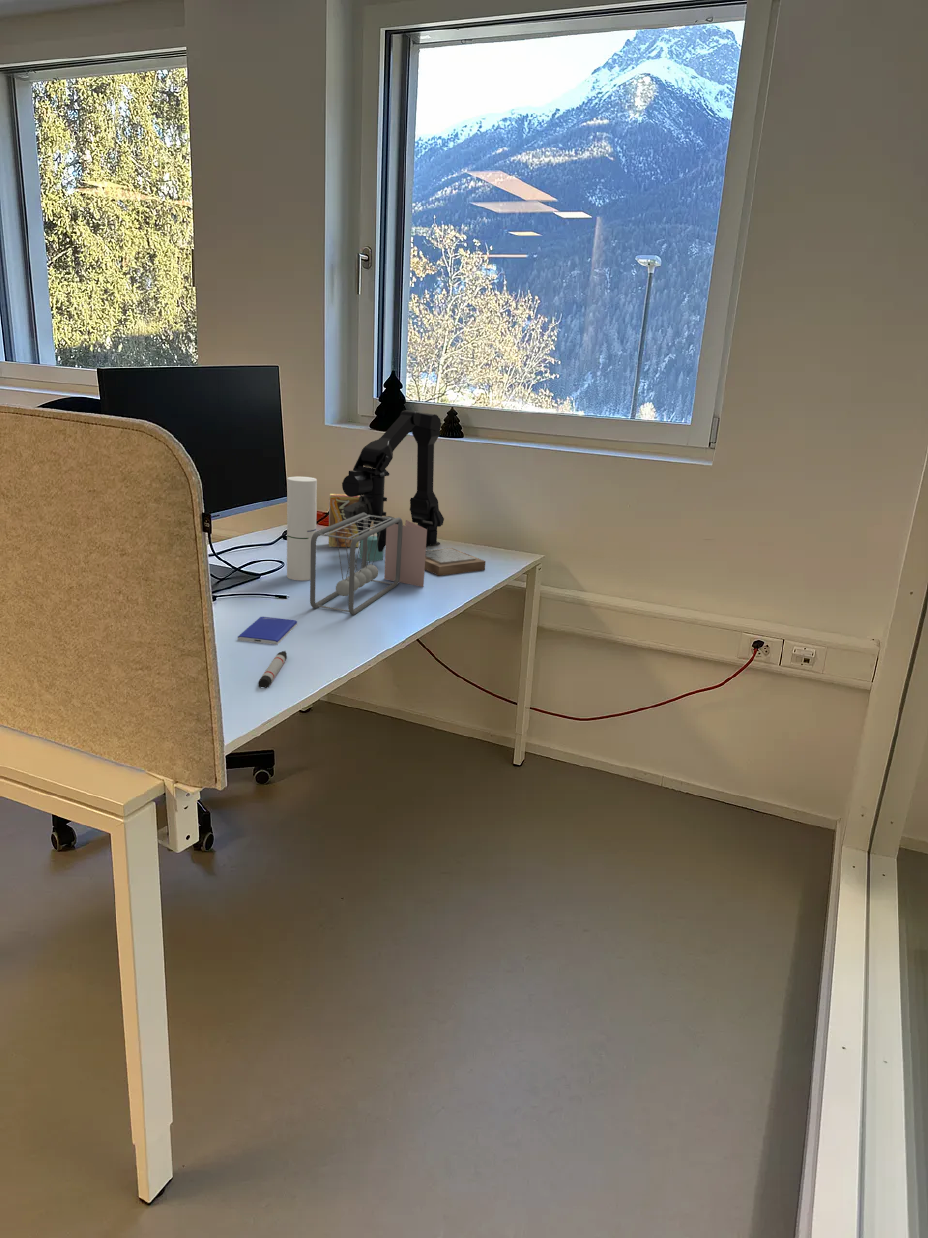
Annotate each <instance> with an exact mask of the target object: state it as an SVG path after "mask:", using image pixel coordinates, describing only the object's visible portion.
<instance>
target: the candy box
mask: <svg viewBox="0 0 928 1238" xmlns="http://www.w3.org/2000/svg"><path fill="white" fill-rule="evenodd" d="M359 497H360V496H354V497H349V496H347V495H346V494H345V493H329V499H328V500H329V503H328V504H329V505H328V506H329V509H328V527H329V526H331V525H334V524H336V523H339V522H341V521H343V520H346V517H345V514H344V510H343V508H345V507H347V506H349V505H351V504H353V503H357V502H359ZM351 523H352V522H351ZM349 524H350V523H349ZM346 525H348V524H346ZM352 525H354V526H351V528H350V526H347V527H345V528H347V529H344V531H343V529H340V530H338V531H339V532H337V536H341V537H344V533H343V532H346V533H345V537H347V538H348V537H351V536H353V535H355V534H357V533H358V529H357V526H356V524H355V523H354V524H352ZM344 526H345V525H344ZM342 527H343V526H342ZM339 528H340V527H339ZM337 529H338V528H337ZM351 529H354V530H351ZM334 530H336V529H334ZM332 531H333V530H332ZM351 531H352V533H353V534H352V535H351V534H350V533H351ZM330 532H331V531H330ZM329 535H334V536H336V532H333V533H331V534H329ZM357 536H359V535H357ZM357 536H356V537H357ZM353 538H355V537H353ZM345 540H346V544H345ZM351 542H352V540H349V539H342V538H338V543H337V538H335V537H328V547H329V548H330V547H331V548H333V547H334V548H338V545H339V548H346V546H347V548H350V546H351ZM359 546H360V542H357V544H356V548H359Z"/></svg>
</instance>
